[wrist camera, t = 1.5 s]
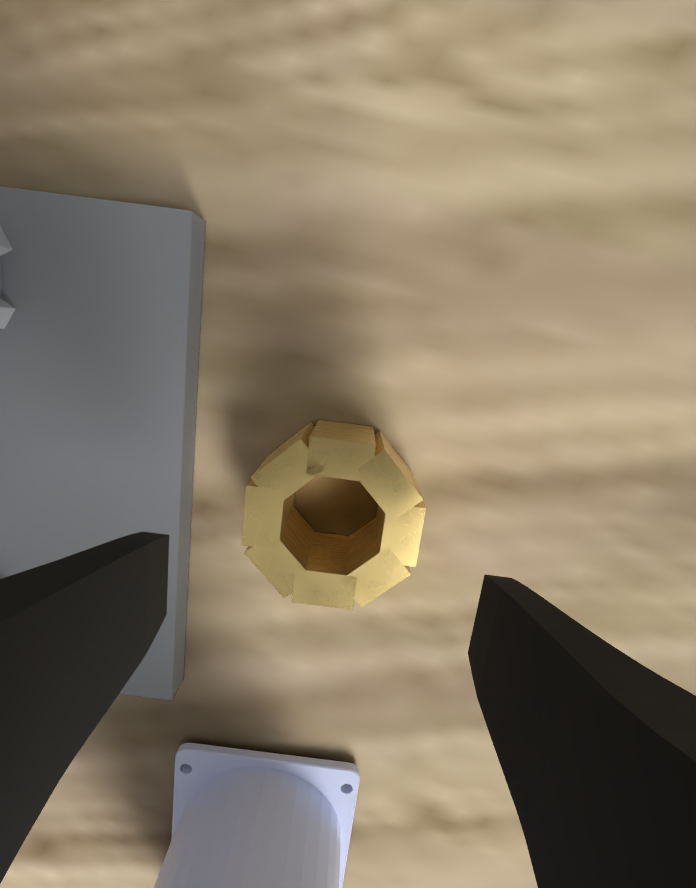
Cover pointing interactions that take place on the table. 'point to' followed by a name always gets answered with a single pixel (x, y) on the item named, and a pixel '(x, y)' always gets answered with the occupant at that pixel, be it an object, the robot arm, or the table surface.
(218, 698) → the table surface
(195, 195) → the table surface
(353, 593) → the brass gear
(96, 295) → the gear board
